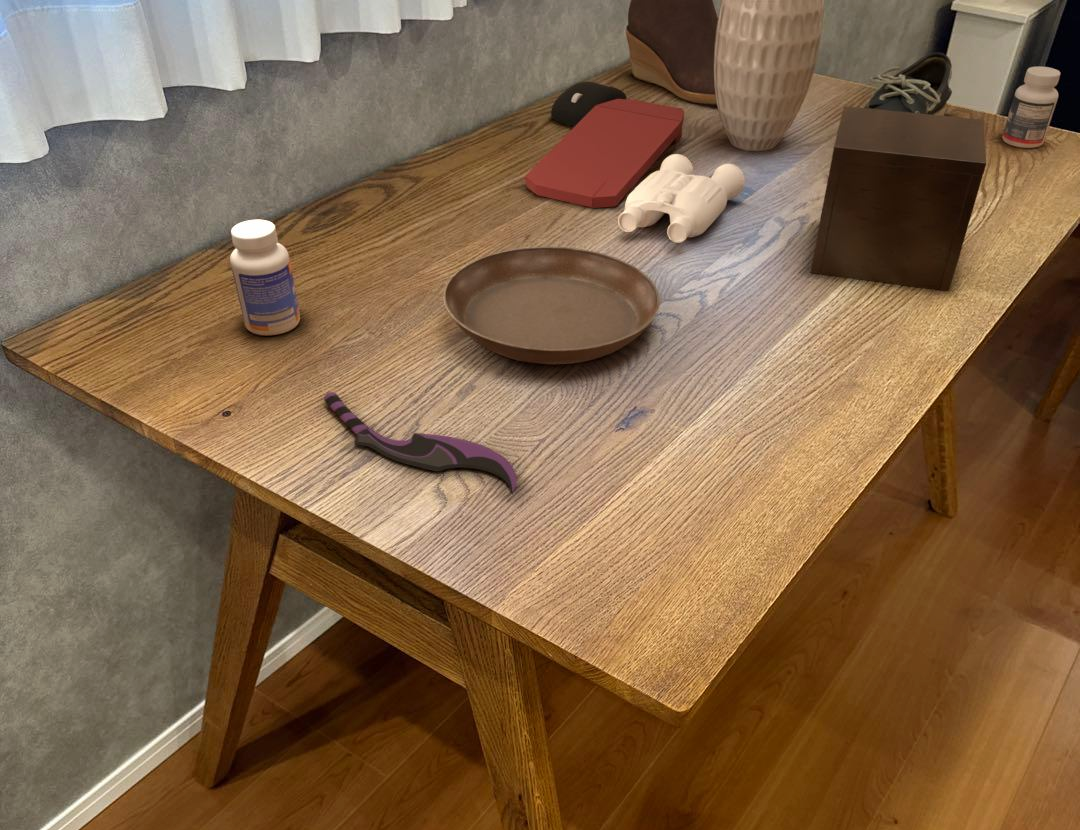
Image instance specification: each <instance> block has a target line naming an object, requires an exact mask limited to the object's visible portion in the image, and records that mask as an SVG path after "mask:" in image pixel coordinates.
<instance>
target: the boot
mask: <svg viewBox="0 0 1080 830" xmlns="http://www.w3.org/2000/svg"><path fill="white" fill-rule="evenodd" d="M627 12H628V13H627V25H626V27H625V36H626V40H627V45H628V50H629V58H630V63H631V70H632V75H633V77H634V78H637V79H638V80H642V81H643V82H647V83H649V84H655V85H657V86H660V87H661V88H664V89H666V90H668V91H670V93H672V94H674V95H675V96H676V97H678V98H680V99H682V100H684V101H687V102H692V103H698V104H703V105H717V101H716V94H715V88H714V48H715V38H716V29H717V22H718V14H717V10H716V7H715V5H714V0H630V3H629V6H628V11H627Z"/></svg>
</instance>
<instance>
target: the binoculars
mask: <svg viewBox="0 0 1080 830" xmlns="http://www.w3.org/2000/svg"><path fill="white" fill-rule="evenodd" d="M745 184H746V179H745V175H744V172H743V171H742V170H741V168H740V167H738V165H736V164H733V163H724V164H721V165H719V166H718V167H716V169H715V170H714V171H713V173H712V176H710V177H709V176H705V175H697V174H694V168H693V164H692V162H691V160H689V158H688V157H686V156H685V155H683V154H679V153H673V154H670V155H668V156H667V157H666V158H664V159H663V161H662V162H661V164H660V168H659V170H656V171H654V172H652V173H650V174H649V175H648V176H647V177H645V179H643V180H642V181H641V182H640V183H639V184H638V185H637V186H636V187H634V189H633V190H632V191H631V192H630V193H629V194H628V195H627V197H626V200H625V202H624V210H623V211H622V212H621V213H620V214H619V215H618V217H617V225H618V227H619V228H620V229H621V230H622V231H623V232H625V233H632V232H634V231H635V230H636V229H637V228H647V227H651V226H653V225H655V224H656V223H657V222H658V221H659V220H660V219H661V218H662V217H663V216H664V215H665V214H668V216H669V223H670V224H669V225H668V227H667V230H666V234H667V237H668V238H669V240H670V241H672V242H673V243H676V244H680V243H683V242H685V240H686V239H687V238H694V237H698V236H701V235H702V234H704V233H705V232H706V231H707V230H708V228H709V227H710V226H711V225H712V224H713V223H714V221H716V220H717V218H719V216H720V215H721V214H722V213H723V212H724V210H725V208H726V207H727V205H728V200H731V199H735V198H737V197H738V196H739V195H741V193H742V192H743V191H744V188H745Z"/></svg>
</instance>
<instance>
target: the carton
mask: <svg viewBox="0 0 1080 830" xmlns="http://www.w3.org/2000/svg"><path fill="white" fill-rule="evenodd" d="M684 121H685V110H684V109H683V108H681V107H677V106H676V107H675V106H670V105H664V104H660V103H654V102H648V101H642V100H637V99H631V98H627V99H625V100H624V99H615V100H612V101H608V102H605V103H602V104H598V105H596V106H595V107H594V108H593V109H592V110H591V111H590V112H589V113H588V114H587V115H586V116H585V117H584V118H583V119H582V120H581V121H580V122H579V123H578V124H577V125H576V126H575V127H574V126H573V128H571V129H570V130H569V131H568V132H567V133H566V134H565V135H564V136H563V137H562V138H561V140H559V141H558V142H557V143H556V144H555V145H554V147H552V148H551V149H550V150H549V151H548V152H547V153H546V154H545V155H544V156H543V157H542V158H541V159H540V160H539V161H538V162H537V163H536V164H535V165H534V166H533V167H532V168H531V169H530V170H529V171H528V172H527V173H526V174H525V175H524V181H525V187H527V188H528V189H529V190H530V191H531V192H532V193H534V194H535V195H536V196H540V197H545V198H549V199H553V200H558V201H561V202H567V203H571V204H574V205H579V206H584V207H587V208H592V209H597V208H610V207H612V208H613V207H617V205H618V204H620V202H621V201H622V200H623V199H624V198H625V196H626V195H627V194H628V193H629V192H630V190H632V188H633V187H634V186H635V185H636V184H637V183H638V182H639V181H640V180H641V178H643V176H644V175H645V173H647V172H648V170H649V169H650V168H651V167H652V166H653V165H654V163H655V162H656V161H657V160H658V159H659V158H660V156H661V155H662V154H663V153H664V152H665V151H666V150H667V148H668V147H669V146H671V144H673V145H676V144H677V143H679V141H680V140H681V139H682V137H683V125H684Z"/></svg>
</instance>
